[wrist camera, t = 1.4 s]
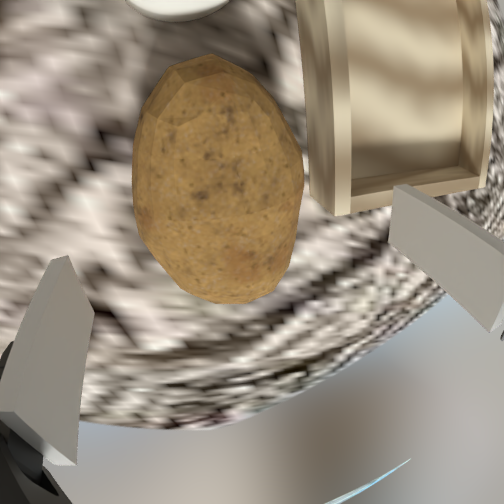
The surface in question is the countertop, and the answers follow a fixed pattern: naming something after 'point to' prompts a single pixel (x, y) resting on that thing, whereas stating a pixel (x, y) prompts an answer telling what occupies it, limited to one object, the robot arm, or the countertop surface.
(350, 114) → the tray
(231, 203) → the potato
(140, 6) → the white rounded piece
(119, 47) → the countertop surface
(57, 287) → the robot arm
